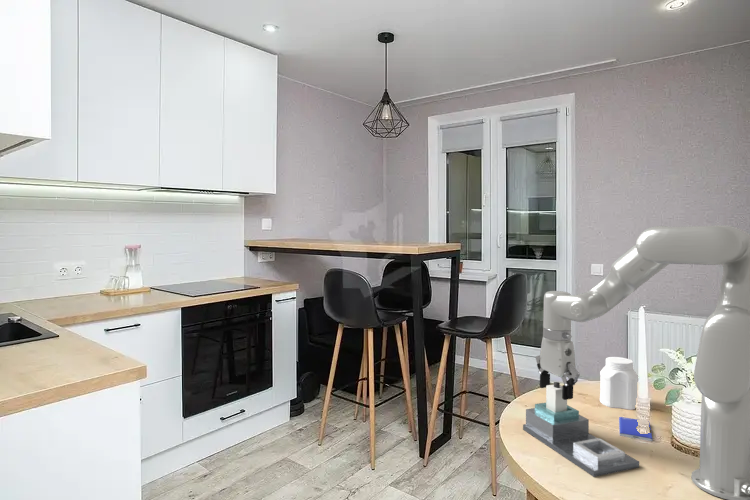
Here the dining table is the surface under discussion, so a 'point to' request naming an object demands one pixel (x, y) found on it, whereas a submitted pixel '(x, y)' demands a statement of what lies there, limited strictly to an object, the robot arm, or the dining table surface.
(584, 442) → the grey desk organizer
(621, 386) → the jar
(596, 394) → the dining table surface
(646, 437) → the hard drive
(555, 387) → the plug
